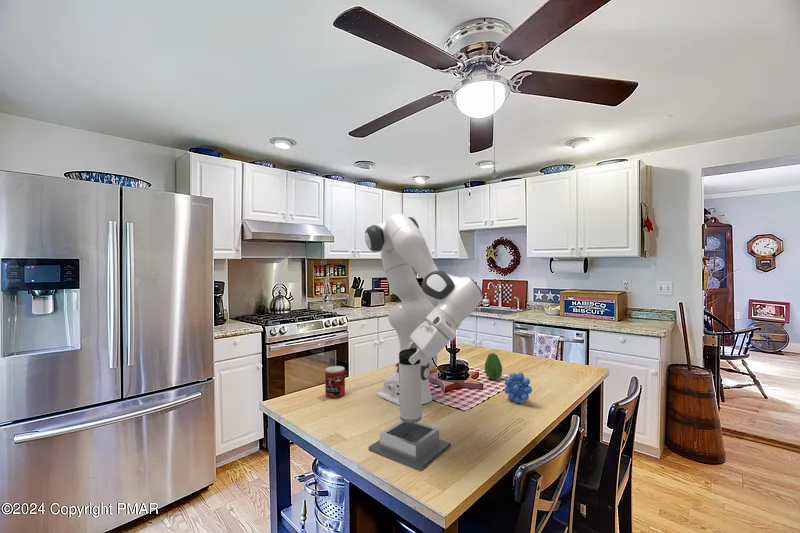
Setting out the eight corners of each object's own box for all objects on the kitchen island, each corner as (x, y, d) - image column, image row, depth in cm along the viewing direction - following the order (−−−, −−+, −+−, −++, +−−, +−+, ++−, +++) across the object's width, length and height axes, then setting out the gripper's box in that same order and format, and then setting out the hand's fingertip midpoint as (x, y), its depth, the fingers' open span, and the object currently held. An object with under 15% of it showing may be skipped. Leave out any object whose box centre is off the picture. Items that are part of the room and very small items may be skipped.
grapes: (537, 404, 139) (537, 373, 139) (528, 409, 135) (528, 376, 135) (510, 396, 148) (510, 366, 148) (500, 400, 144) (500, 369, 144)
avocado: (490, 375, 175) (490, 350, 175) (505, 379, 169) (505, 353, 169) (480, 379, 170) (480, 353, 170) (495, 383, 164) (495, 356, 164)
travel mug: (425, 415, 109) (423, 348, 109) (416, 425, 103) (415, 354, 103) (405, 412, 112) (404, 346, 111) (396, 421, 106) (395, 352, 105)
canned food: (321, 397, 148) (321, 370, 148) (332, 391, 155) (332, 365, 155) (338, 400, 145) (337, 372, 145) (348, 393, 152) (348, 366, 152)
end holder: (368, 450, 106) (368, 433, 106) (401, 429, 119) (401, 414, 119) (420, 471, 95) (420, 451, 95) (450, 446, 108) (450, 429, 108)
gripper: (425, 312, 118) (395, 343, 117) (441, 322, 98) (405, 360, 97) (438, 325, 119) (409, 357, 117) (458, 338, 99) (422, 376, 97)
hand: (407, 358), depth 107 cm, fingers closed on travel mug, 6 cm apart
